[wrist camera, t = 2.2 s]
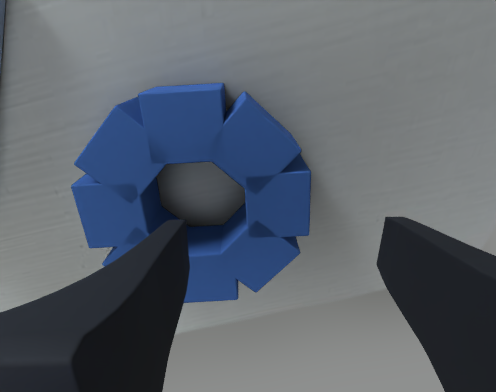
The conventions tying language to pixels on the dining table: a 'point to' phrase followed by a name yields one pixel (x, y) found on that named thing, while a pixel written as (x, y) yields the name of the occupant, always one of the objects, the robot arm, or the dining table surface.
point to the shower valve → (1, 27)
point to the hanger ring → (190, 151)
